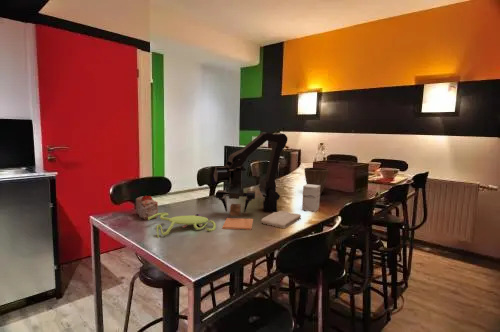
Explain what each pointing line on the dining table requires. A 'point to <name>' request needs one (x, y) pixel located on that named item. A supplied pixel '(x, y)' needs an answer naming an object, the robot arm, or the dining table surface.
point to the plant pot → (316, 176)
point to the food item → (146, 207)
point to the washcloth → (281, 219)
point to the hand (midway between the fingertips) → (235, 211)
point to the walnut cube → (235, 209)
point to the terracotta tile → (238, 223)
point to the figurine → (183, 222)
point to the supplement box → (311, 197)
